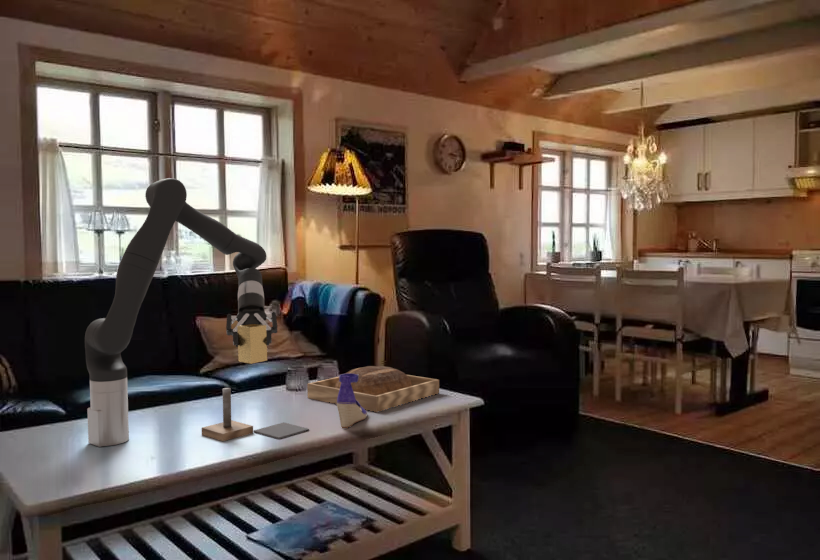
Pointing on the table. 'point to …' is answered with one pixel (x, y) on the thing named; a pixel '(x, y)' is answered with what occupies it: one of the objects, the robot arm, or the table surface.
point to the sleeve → (252, 343)
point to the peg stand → (227, 423)
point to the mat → (280, 430)
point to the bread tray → (380, 402)
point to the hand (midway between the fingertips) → (252, 344)
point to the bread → (378, 380)
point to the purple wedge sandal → (349, 402)
